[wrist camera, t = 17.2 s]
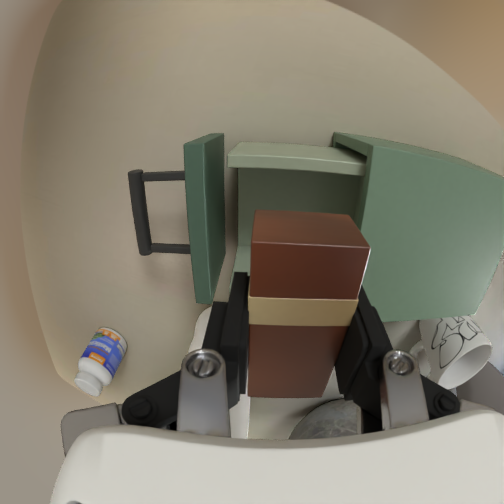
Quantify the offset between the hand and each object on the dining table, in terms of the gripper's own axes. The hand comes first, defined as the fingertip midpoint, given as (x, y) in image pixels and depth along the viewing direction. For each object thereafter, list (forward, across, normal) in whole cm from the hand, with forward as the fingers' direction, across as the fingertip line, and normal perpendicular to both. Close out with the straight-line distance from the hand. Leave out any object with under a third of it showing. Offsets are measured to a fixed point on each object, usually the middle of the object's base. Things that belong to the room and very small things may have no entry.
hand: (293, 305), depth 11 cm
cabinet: (+15, -12, 0) cm, 19 cm away
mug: (+15, -23, +16) cm, 32 cm away
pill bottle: (+15, +23, +22) cm, 36 cm away
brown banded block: (0, 0, 0) cm, 0 cm away
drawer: (+14, +2, 0) cm, 15 cm away
